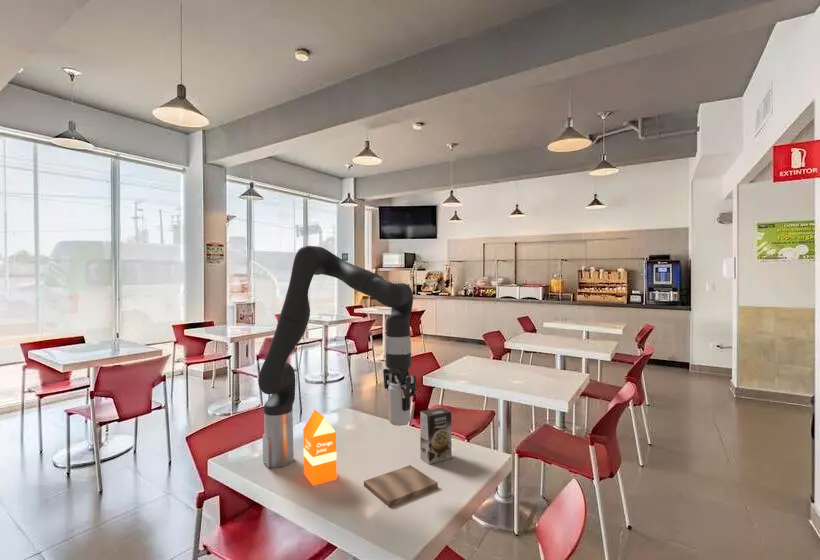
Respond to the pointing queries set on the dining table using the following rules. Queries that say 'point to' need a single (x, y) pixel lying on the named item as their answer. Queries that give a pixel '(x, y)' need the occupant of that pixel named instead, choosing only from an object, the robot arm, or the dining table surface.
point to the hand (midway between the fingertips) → (399, 407)
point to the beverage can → (397, 406)
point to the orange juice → (319, 450)
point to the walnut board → (400, 485)
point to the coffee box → (435, 435)
